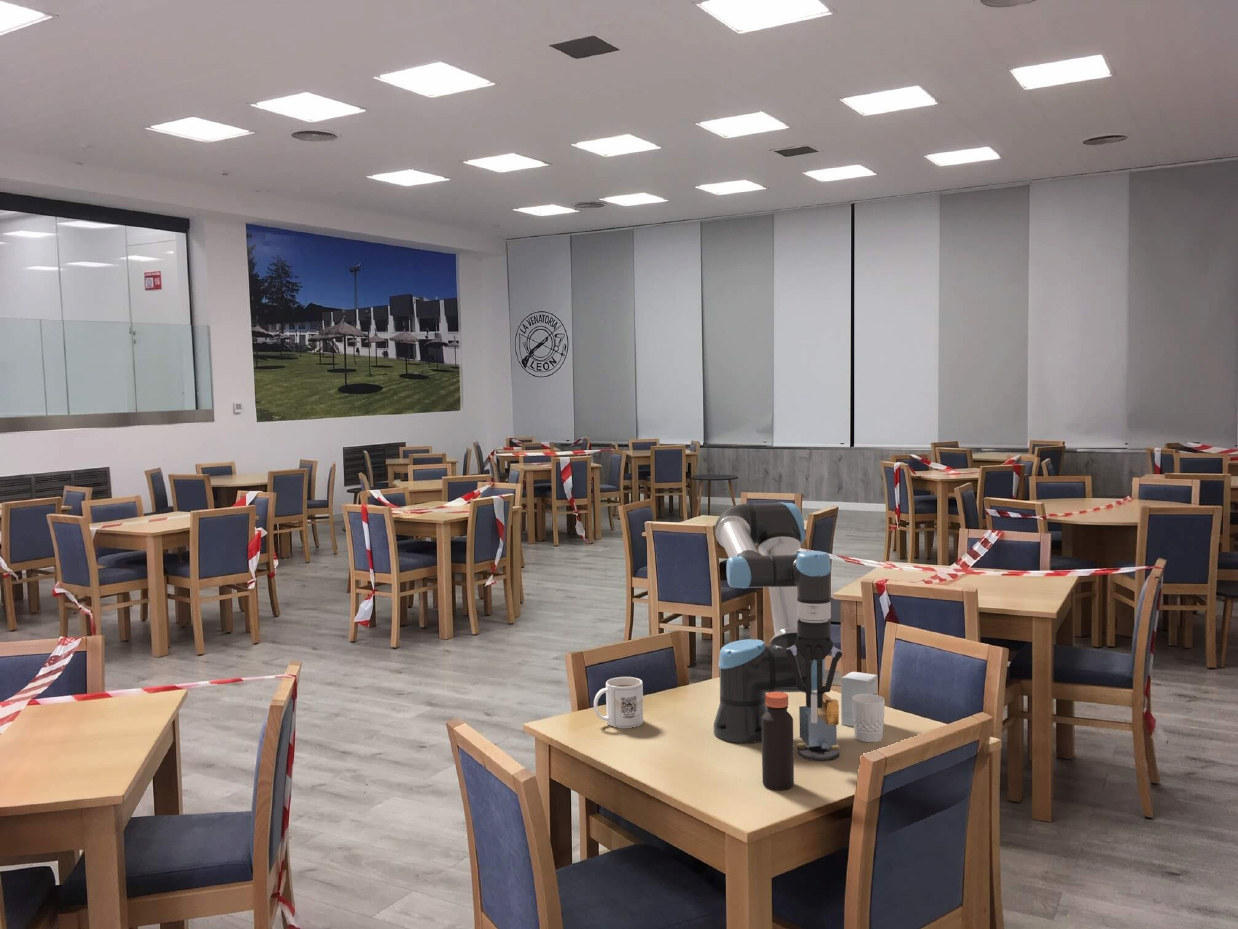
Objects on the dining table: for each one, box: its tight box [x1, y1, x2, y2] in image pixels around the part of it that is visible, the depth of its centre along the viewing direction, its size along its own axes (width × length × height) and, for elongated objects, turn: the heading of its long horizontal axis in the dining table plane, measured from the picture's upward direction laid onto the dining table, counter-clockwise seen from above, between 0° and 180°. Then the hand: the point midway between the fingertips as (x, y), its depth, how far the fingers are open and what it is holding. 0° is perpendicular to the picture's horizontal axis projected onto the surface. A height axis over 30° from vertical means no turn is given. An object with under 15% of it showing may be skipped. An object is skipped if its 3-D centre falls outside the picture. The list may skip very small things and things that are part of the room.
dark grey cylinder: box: [796, 740, 841, 762], centre depth 222 cm, size 10×10×9 cm
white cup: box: [852, 694, 886, 743], centre depth 231 cm, size 8×8×10 cm
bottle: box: [761, 692, 795, 791], centre depth 203 cm, size 7×7×20 cm
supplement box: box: [840, 671, 879, 727], centre depth 242 cm, size 7×7×13 cm
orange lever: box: [798, 690, 840, 749], centre depth 218 cm, size 7×17×13 cm, turn 7°
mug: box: [593, 676, 644, 729], centre depth 247 cm, size 10×12×11 cm
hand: (814, 721), depth 213 cm, fingers closed
